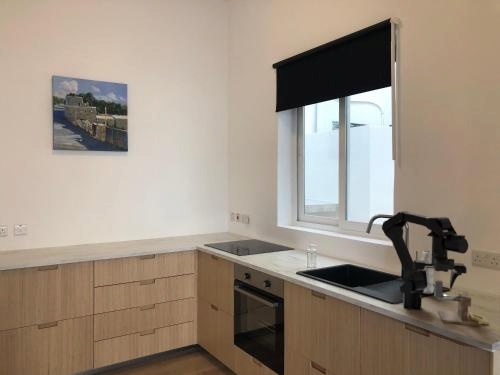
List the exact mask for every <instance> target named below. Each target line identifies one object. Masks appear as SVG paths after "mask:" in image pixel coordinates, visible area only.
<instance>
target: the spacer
mask: <svg viewBox="0 0 500 375" xmlns="http://www.w3.org/2000/svg"><path fill="white" fill-rule="evenodd" d="M468 316H469V317H470V319H472V320H475V321H478V322H479V323H480V324H484V325H488V324H489V321H488V320H487V319H486V316H483V315H481V314H480V315H479V314H476V313H473V312H471V311H468Z"/></svg>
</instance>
